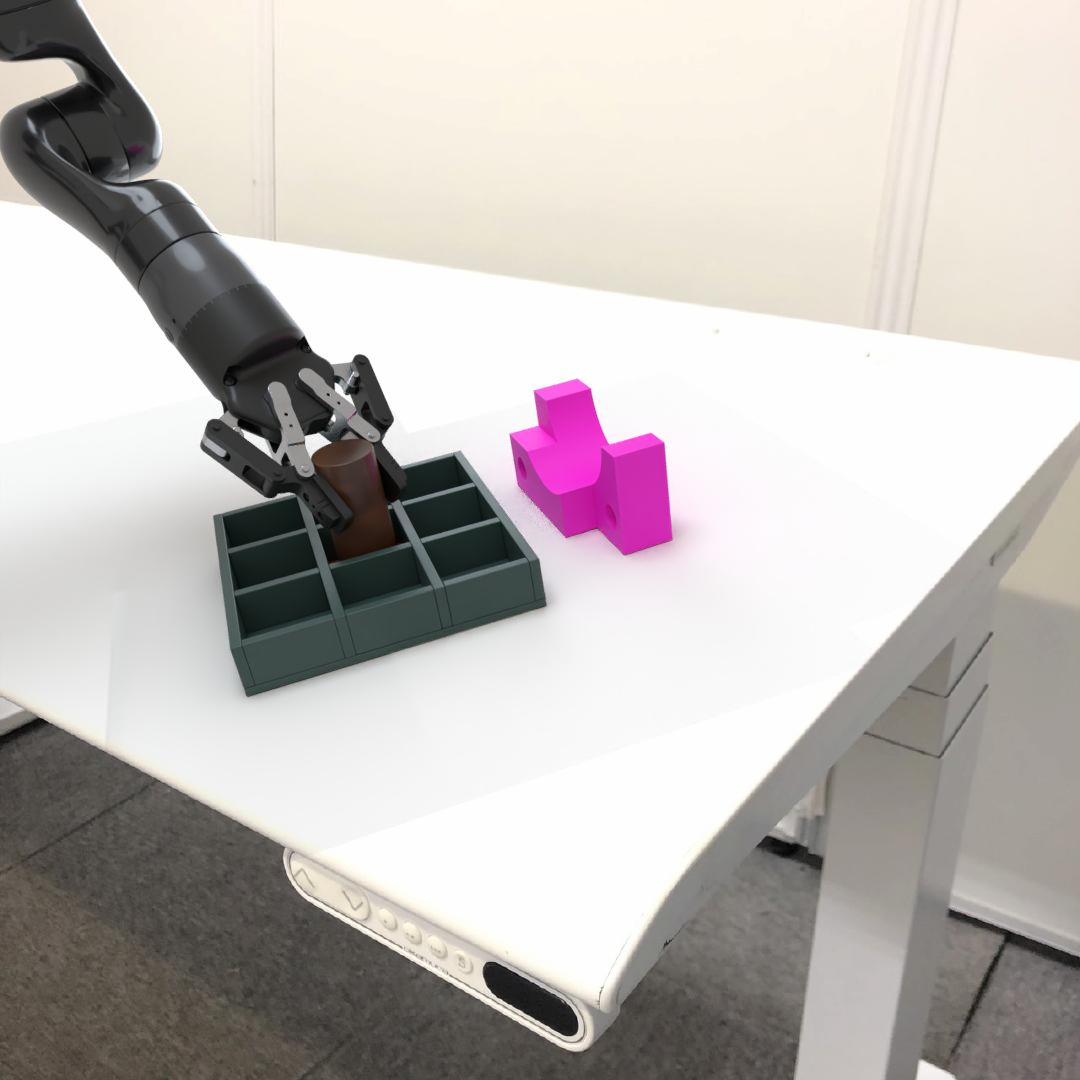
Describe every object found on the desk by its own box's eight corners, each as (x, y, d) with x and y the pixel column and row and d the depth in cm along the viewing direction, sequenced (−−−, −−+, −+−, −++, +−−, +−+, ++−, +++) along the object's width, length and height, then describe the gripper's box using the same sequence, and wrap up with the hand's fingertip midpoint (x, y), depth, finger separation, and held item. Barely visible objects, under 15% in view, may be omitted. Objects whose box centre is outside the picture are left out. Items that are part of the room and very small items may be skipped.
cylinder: (343, 576, 70) (315, 471, 66) (334, 549, 74) (306, 448, 70) (403, 559, 71) (378, 455, 67) (391, 533, 75) (366, 432, 71)
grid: (246, 697, 63) (229, 649, 61) (226, 556, 80) (212, 515, 78) (547, 605, 67) (539, 558, 66) (468, 490, 84) (460, 450, 82)
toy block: (517, 484, 84) (503, 398, 80) (588, 464, 85) (577, 378, 81) (591, 565, 71) (578, 467, 67) (672, 539, 73) (664, 442, 69)
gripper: (136, 317, 64) (304, 533, 62) (317, 253, 72) (469, 440, 71) (123, 386, 70) (275, 584, 68) (292, 318, 78) (431, 492, 77)
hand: (373, 509), depth 69 cm, fingers closed on cylinder, 4 cm apart
